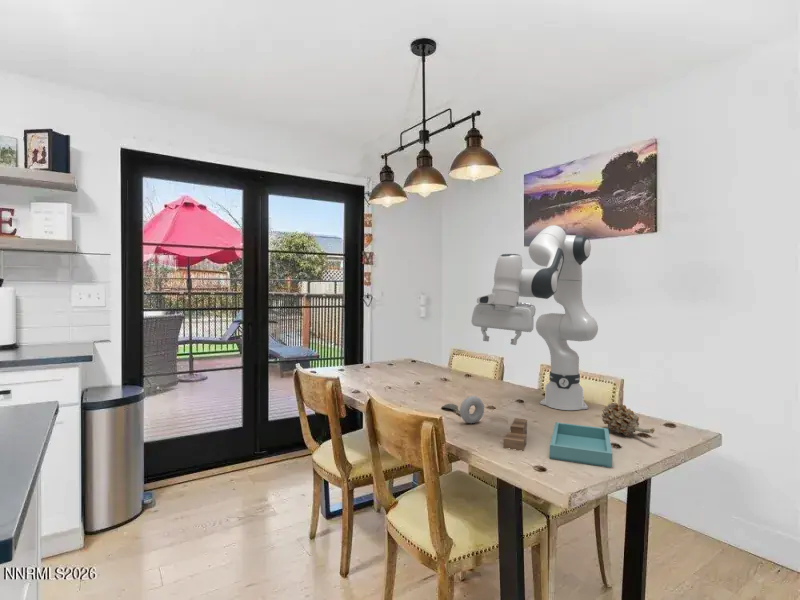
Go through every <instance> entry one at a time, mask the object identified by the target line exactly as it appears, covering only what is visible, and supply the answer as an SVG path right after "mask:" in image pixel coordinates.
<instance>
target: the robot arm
mask: <svg viewBox="0 0 800 600" xmlns="http://www.w3.org/2000/svg"><path fill="white" fill-rule="evenodd" d="M591 250H592V245H591V241H590V239H589V237H587V236H586V235H582V234H576V235H573V234H571V235H570V234H567V233H566V232H565V230H564V229H563V228H562V227H561V226H560V225H554V224H553V225H548V226H546V227H545V228H544V229H542V230H541V231H539V232H538V234H537V235H536V236H535V237H534V238H533V239H532V241H531V242H530V244H529V247H528V255H529V257H530V259H531V260H532V262H534V263H535V264H536V265H538V266H541V267H542V268H524V267H523V256H522V255H520V254H519V253H517V254H516V253H503V254H500V255H498V257H497V261H496V264H495V268H494V274H493V275H494V276H493V281H494V282H493V287H492V290H491V293H489V294H486V295H481V296H478V297H477V298H476V303H477V304H476V305H475V307H474V308H473V311H472V316H471V324H472V326H474V327H479V328H480V331H481V334H482V340H483V342H489V341H490V336H489V335H487V331H488V329H494V330H495V329H498V330H507V331H514V334H515V336H514V337H513V338H510V345H513V346H517V344H518V343H517V342H518V340H519V339H520V337H521V336H522V332H525V333H532V331H534V326H535V329H536V332H537V334H538V335H539V336H540V337H541V338H542V339H543V340H544V342H545V344H546V345H547V347H548V350H549V354H550V371H549V375H548V376H549V382H548V383H547V384H545V390H544V391H545V393H544V394H545V395H544V398H543V399H542V400H540V402H539V404H540V405H543V406H546V407H549V408H552V409H556V410H561V411H580V410H588V409H589V406H588V405H587V403H586V402H585V401H584V399H585V398H584V388H583V387H582V385H580V382H581V381H580V380H581V375H580V372H579V371H580V369H579V368H580V363H579V362H580V356H579V354H578V353H577V351H575V349H573V348H571V347H570V346H569V344H568V341H572V342H587V341H588V342H589V341H593V340H594V339H595V338H596V336H597V335H598V331H599V325H598V323H597V320H596V319H595V318H594V317H592V316H591V314H590V313H589V312H588V311H587V309H586V307H585V305H584V302H583V268H582V265H583V263H584V262H585V261H587V259H588V258H589V257H590V255H591ZM521 297H522V298H538V299H543V300H544V299H545V300H548V299H550V298H551V297H553V299H554V300H555V303H558V304H559V305H560V306H562V307H563V309H564V313H558V312H556V313H555V312H550V313H544V314H541V315H539V316H538V317H537V320H536V321H535V323H534V317H535V315H536V306H535V305H534V304H532V303H530V302H520V301H519V300H520V298H521ZM534 324H535V325H534Z"/></svg>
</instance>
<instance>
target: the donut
mask: <svg viewBox="0 0 800 600" xmlns="http://www.w3.org/2000/svg"><path fill="white" fill-rule="evenodd" d="M471 407H474V411H473V412H472V413H470V409H471ZM459 411H460V413H459V415H460V417H461V419H462V421H464V422H465V423H467V424H472V423H473V424H475V423H477V422H479V421H480V420H481V419H482V417H483V415H484V413H485V405H484V402H483V400H482V399H481V398H480V397H477V396H474V395H471V396H467V397H466V398H465V399H463V401H462V402H461V404H460V407H459Z"/></svg>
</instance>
